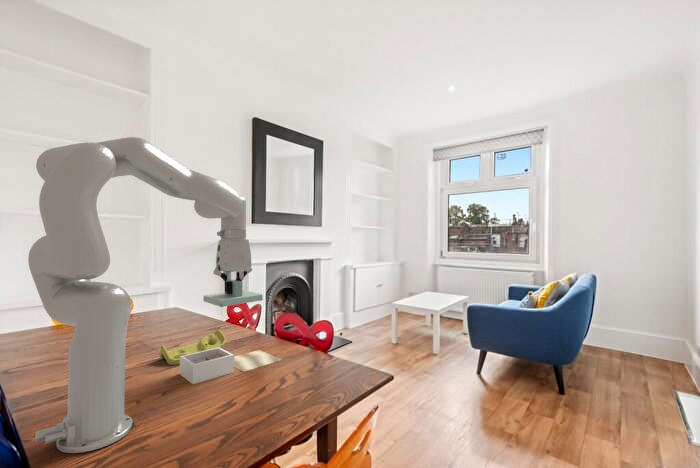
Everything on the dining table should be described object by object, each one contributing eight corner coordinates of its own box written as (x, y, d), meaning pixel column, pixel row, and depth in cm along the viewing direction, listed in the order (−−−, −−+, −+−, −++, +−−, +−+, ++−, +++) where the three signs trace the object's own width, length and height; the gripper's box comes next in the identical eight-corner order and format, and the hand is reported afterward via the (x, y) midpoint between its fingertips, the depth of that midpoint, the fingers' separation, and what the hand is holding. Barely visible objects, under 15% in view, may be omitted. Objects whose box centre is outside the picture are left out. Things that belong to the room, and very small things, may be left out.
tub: (192, 387, 93) (193, 365, 93) (179, 376, 100) (179, 356, 100) (233, 374, 102) (234, 354, 102) (218, 365, 109) (219, 347, 109)
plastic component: (171, 362, 106) (160, 342, 111) (169, 379, 108) (158, 359, 114) (230, 343, 120) (218, 326, 126) (227, 359, 123) (215, 342, 128)
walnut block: (211, 374, 100) (211, 360, 100) (205, 370, 103) (205, 357, 103) (224, 370, 103) (224, 357, 103) (218, 367, 105) (218, 354, 105)
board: (243, 374, 102) (243, 371, 102) (222, 362, 111) (222, 359, 111) (282, 362, 112) (282, 359, 112) (259, 352, 121) (259, 349, 121)
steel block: (194, 379, 96) (194, 365, 96) (188, 375, 99) (188, 361, 99) (208, 375, 99) (208, 361, 99) (202, 371, 102) (202, 358, 102)
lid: (221, 307, 98) (221, 285, 98) (203, 301, 106) (203, 281, 106) (262, 300, 108) (262, 280, 108) (243, 295, 116) (243, 277, 116)
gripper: (214, 235, 99) (214, 298, 99) (262, 235, 110) (262, 291, 110) (203, 235, 104) (203, 295, 104) (250, 235, 115) (250, 288, 115)
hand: (233, 292), depth 107 cm, fingers closed on lid
